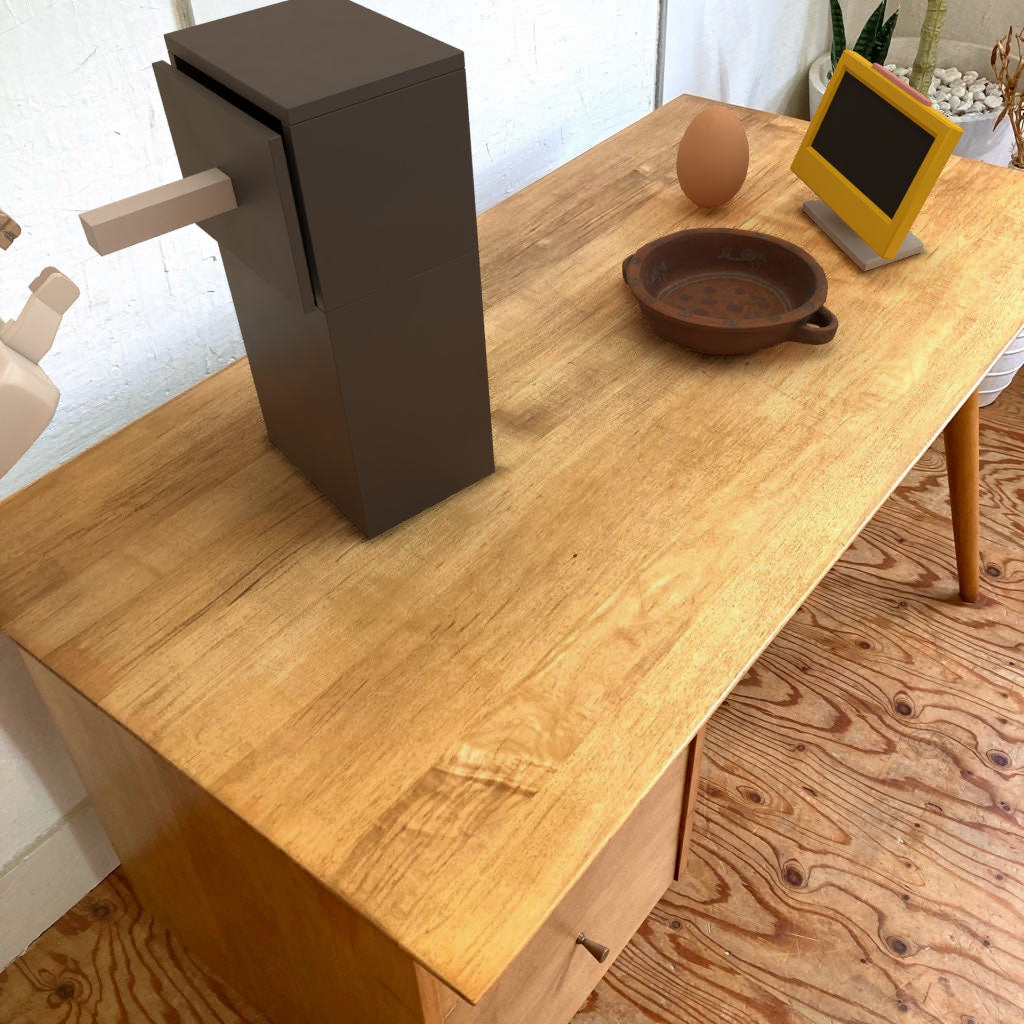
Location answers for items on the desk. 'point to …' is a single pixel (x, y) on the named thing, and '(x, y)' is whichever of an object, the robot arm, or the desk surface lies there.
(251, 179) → the drawer
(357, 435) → the cabinet
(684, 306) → the dish
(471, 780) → the desk surface
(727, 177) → the egg
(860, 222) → the toy computer monitor
